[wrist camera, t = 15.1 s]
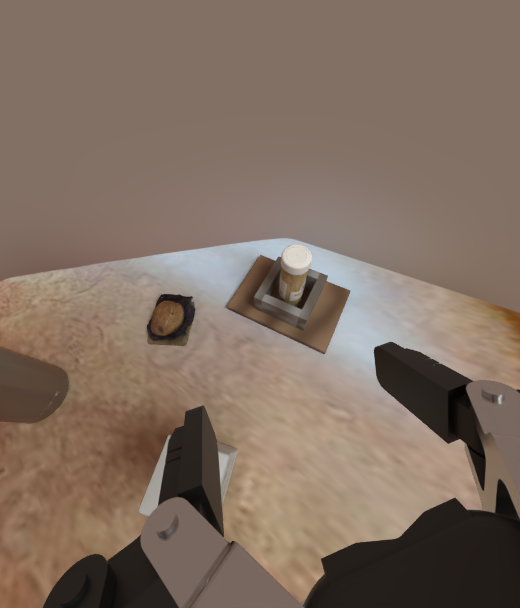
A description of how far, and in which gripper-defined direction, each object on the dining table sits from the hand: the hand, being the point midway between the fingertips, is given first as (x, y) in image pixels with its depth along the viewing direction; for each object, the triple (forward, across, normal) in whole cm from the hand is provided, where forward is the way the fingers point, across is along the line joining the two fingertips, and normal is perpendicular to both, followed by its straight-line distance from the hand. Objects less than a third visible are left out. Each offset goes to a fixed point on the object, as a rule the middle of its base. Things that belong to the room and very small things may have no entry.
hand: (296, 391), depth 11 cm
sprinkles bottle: (+36, -10, +8) cm, 38 cm away
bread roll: (+40, +12, +7) cm, 42 cm away
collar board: (+37, -10, +9) cm, 39 cm away
